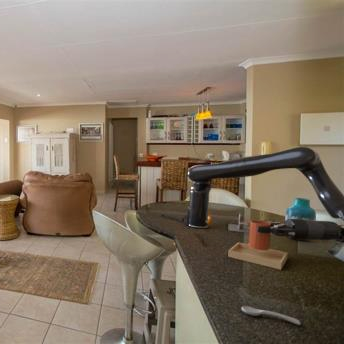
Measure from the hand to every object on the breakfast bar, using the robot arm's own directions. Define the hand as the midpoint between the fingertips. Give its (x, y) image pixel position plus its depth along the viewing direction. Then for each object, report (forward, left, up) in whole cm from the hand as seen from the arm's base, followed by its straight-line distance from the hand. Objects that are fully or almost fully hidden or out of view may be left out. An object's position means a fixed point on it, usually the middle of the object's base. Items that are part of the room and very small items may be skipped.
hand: (253, 226), depth 112 cm
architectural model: (-13, +44, -12) cm, 48 cm away
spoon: (+13, -45, -12) cm, 48 cm away
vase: (+10, +43, -12) cm, 46 cm away
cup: (+2, +1, -8) cm, 8 cm away
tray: (+2, +1, -12) cm, 12 cm away
